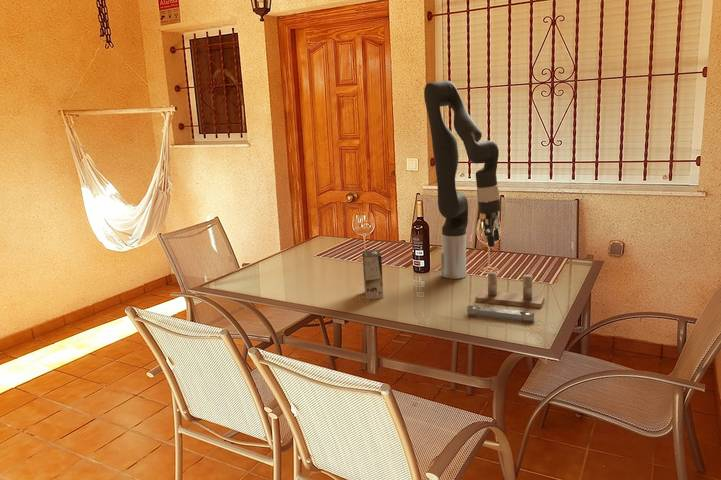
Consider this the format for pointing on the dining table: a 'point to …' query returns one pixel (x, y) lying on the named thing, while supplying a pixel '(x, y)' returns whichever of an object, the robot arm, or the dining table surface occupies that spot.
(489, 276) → the peg stand
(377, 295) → the coffee box
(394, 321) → the dining table surface
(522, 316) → the grey knobbed bar
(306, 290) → the dining table surface
